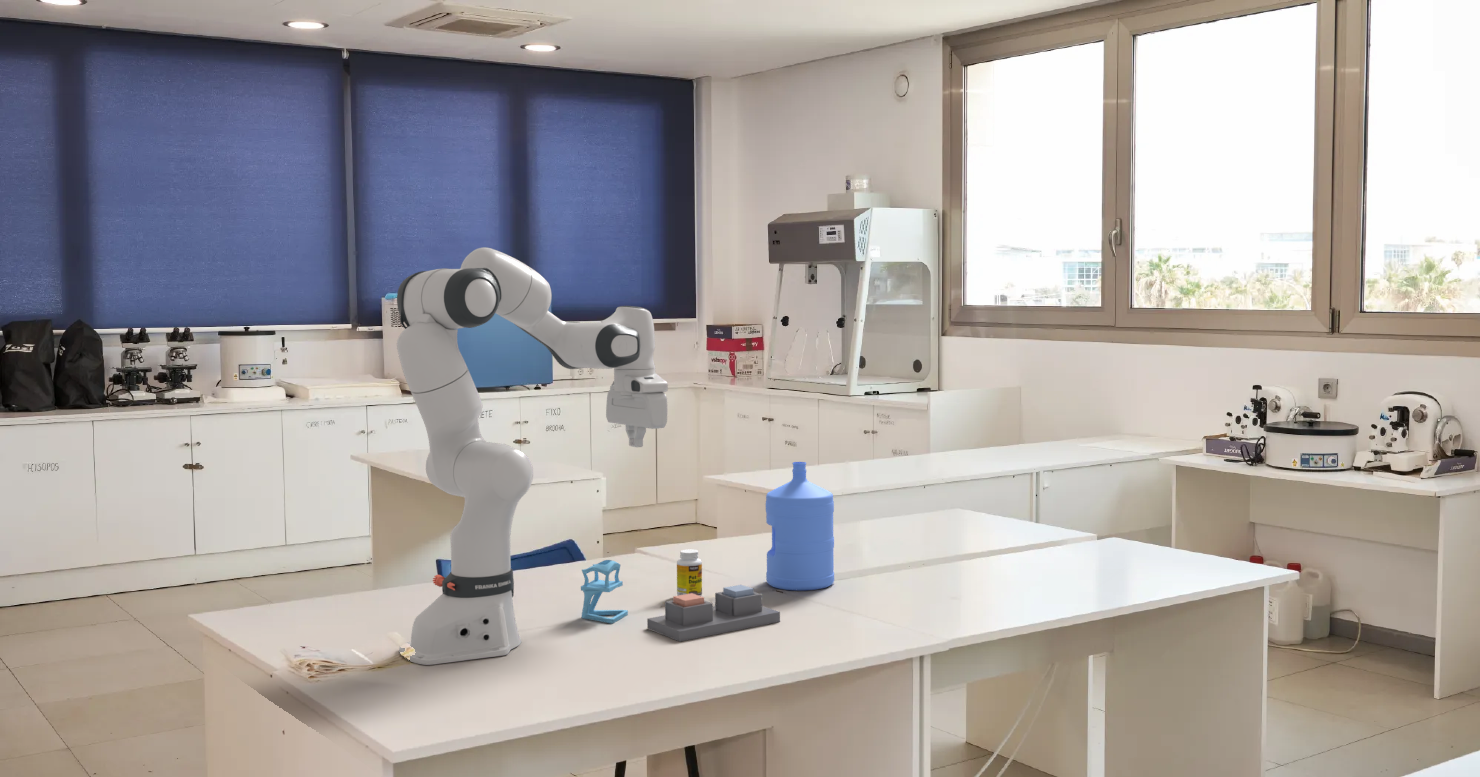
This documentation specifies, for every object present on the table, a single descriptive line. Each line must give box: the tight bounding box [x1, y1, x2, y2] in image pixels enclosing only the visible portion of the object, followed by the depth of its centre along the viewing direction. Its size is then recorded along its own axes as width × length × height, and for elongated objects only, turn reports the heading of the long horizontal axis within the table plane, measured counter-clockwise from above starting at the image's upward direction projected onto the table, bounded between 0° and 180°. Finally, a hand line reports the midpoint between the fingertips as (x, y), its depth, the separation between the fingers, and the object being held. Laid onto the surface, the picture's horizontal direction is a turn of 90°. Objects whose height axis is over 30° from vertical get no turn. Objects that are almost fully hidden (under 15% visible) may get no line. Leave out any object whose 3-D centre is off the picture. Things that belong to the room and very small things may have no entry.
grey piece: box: [646, 591, 781, 642], centre depth 244 cm, size 24×12×6 cm, turn 125°
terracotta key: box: [673, 593, 705, 607], centre depth 240 cm, size 4×4×3 cm
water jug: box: [765, 461, 835, 592], centre depth 278 cm, size 16×16×28 cm
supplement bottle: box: [676, 548, 703, 596], centre depth 268 cm, size 6×6×10 cm
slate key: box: [722, 584, 755, 598], centre depth 247 cm, size 4×4×3 cm
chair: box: [580, 559, 629, 624], centre depth 251 cm, size 8×8×12 cm
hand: (636, 446), depth 260 cm, fingers closed
